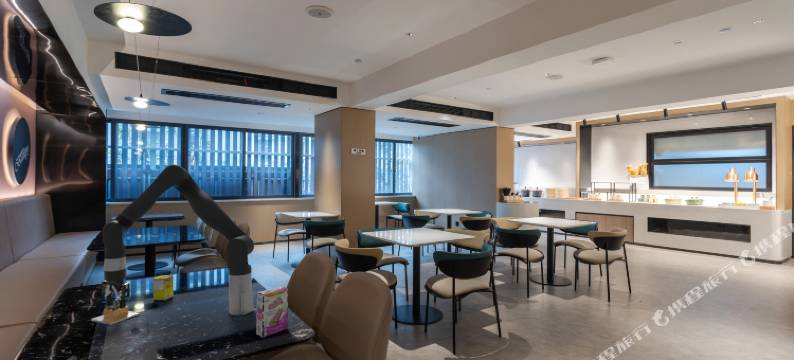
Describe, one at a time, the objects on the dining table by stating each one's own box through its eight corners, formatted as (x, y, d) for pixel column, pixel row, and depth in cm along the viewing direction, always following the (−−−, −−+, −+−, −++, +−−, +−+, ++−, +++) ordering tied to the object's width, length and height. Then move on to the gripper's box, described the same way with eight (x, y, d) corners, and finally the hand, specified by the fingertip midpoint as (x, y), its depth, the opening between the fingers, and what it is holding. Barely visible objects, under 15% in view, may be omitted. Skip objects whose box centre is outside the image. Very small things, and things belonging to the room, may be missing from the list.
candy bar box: (263, 338, 144) (262, 294, 143) (255, 335, 147) (255, 292, 146) (288, 329, 152) (288, 287, 152) (281, 326, 155) (281, 285, 155)
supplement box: (173, 297, 189) (173, 275, 188) (165, 301, 183) (164, 278, 182) (162, 297, 189) (162, 274, 189) (153, 301, 183) (153, 278, 183)
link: (128, 314, 164) (128, 306, 164) (113, 319, 159) (113, 311, 158) (118, 312, 166) (118, 304, 166) (103, 317, 161) (103, 309, 161)
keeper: (139, 314, 166) (139, 296, 166) (110, 325, 155) (110, 306, 155) (121, 311, 170) (120, 293, 170) (91, 321, 159) (90, 302, 159)
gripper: (136, 267, 163) (136, 306, 163) (113, 264, 168) (113, 301, 168) (117, 271, 156) (118, 312, 156) (94, 268, 161) (95, 307, 161)
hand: (115, 306), depth 162 cm, fingers open, 7 cm apart
